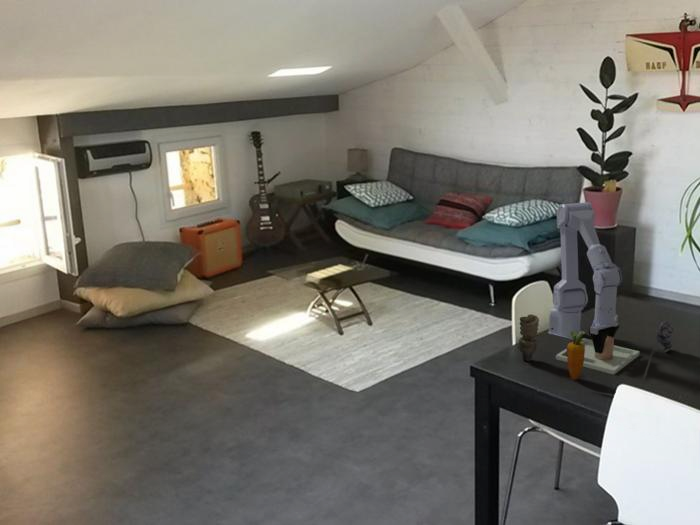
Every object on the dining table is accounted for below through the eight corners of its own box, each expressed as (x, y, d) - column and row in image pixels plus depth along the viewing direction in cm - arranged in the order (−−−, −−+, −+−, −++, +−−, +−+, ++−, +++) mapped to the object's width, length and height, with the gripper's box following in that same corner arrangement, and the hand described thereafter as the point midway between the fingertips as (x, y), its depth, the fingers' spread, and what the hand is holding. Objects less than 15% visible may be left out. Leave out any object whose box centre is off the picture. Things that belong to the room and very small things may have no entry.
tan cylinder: (592, 358, 218) (593, 339, 216) (598, 352, 222) (599, 334, 220) (609, 361, 215) (610, 343, 213) (615, 356, 219) (616, 337, 217)
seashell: (675, 354, 219) (677, 323, 217) (656, 354, 220) (658, 323, 218) (671, 348, 224) (673, 317, 222) (652, 347, 225) (655, 317, 223)
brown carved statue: (538, 359, 219) (539, 312, 215) (536, 366, 214) (538, 319, 210) (519, 357, 221) (520, 311, 217) (517, 364, 216) (518, 317, 212)
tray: (555, 360, 218) (555, 355, 218) (582, 343, 231) (583, 337, 230) (613, 376, 206) (614, 370, 206) (639, 356, 219) (639, 351, 218)
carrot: (562, 377, 206) (564, 328, 202) (579, 376, 207) (582, 327, 203) (569, 385, 202) (571, 335, 198) (586, 384, 202) (589, 333, 198)
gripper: (607, 316, 206) (605, 360, 210) (628, 303, 217) (625, 345, 220) (584, 311, 211) (582, 354, 215) (606, 298, 221) (603, 340, 225)
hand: (602, 349), depth 218 cm, fingers closed on tan cylinder, 5 cm apart
